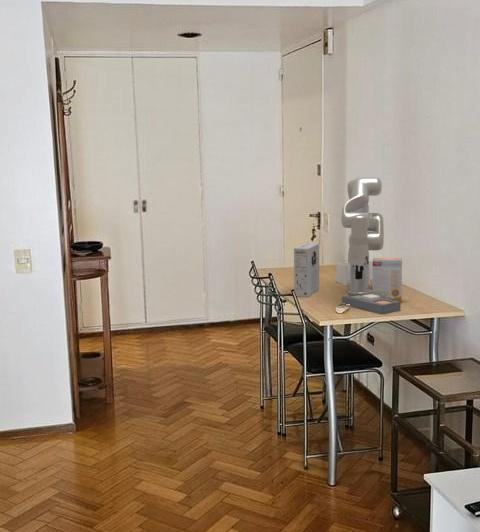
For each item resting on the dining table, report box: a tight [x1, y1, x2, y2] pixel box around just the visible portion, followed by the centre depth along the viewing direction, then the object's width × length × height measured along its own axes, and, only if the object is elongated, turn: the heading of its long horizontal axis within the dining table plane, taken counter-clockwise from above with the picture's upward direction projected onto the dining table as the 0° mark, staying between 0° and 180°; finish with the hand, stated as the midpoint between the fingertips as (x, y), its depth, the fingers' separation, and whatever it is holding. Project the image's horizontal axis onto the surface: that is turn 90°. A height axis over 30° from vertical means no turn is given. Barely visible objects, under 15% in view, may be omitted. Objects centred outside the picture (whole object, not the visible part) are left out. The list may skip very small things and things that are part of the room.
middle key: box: [362, 293, 380, 301], centre depth 325 cm, size 6×6×2 cm
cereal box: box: [293, 242, 320, 298], centre depth 359 cm, size 22×8×25 cm, turn 159°
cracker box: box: [371, 257, 403, 303], centre depth 337 cm, size 14×6×21 cm, turn 77°
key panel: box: [341, 293, 402, 315], centre depth 325 cm, size 26×12×4 cm, turn 35°
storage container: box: [336, 259, 373, 286], centre depth 386 cm, size 25×11×11 cm, turn 111°
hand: (358, 278), depth 331 cm, fingers closed
